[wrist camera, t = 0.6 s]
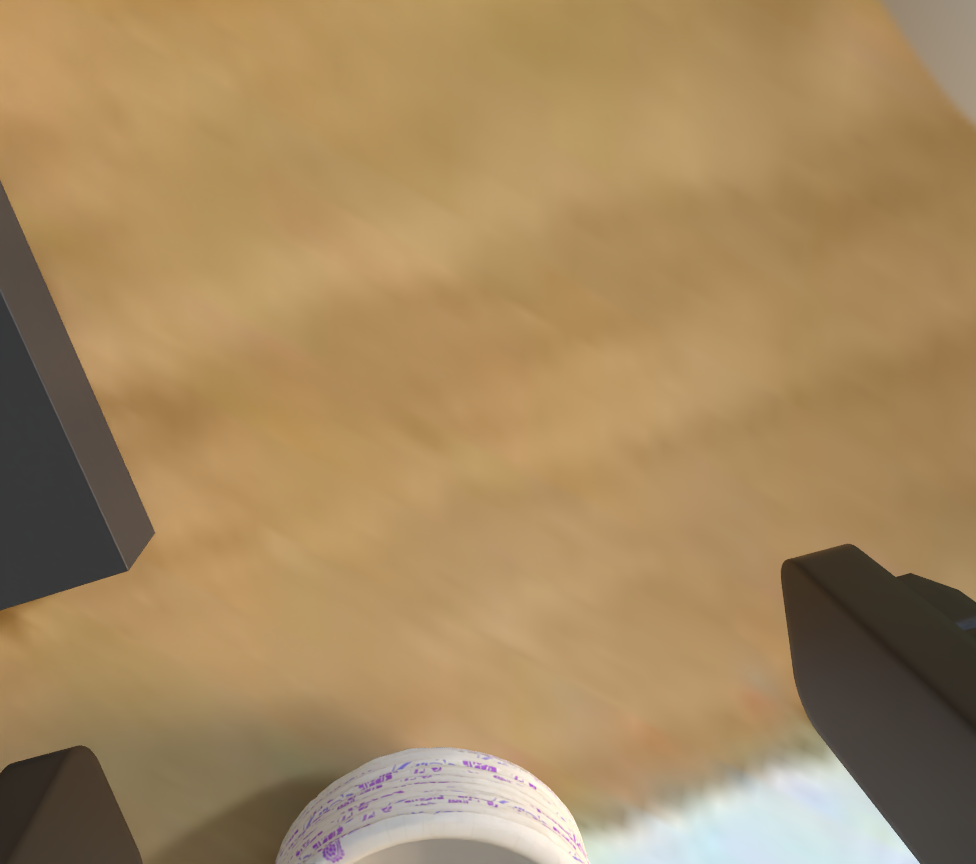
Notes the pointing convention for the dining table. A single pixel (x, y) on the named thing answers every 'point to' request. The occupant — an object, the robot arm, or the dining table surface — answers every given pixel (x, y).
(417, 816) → the paper bowls
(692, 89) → the dining table surface
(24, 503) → the black button box
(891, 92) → the dining table surface
